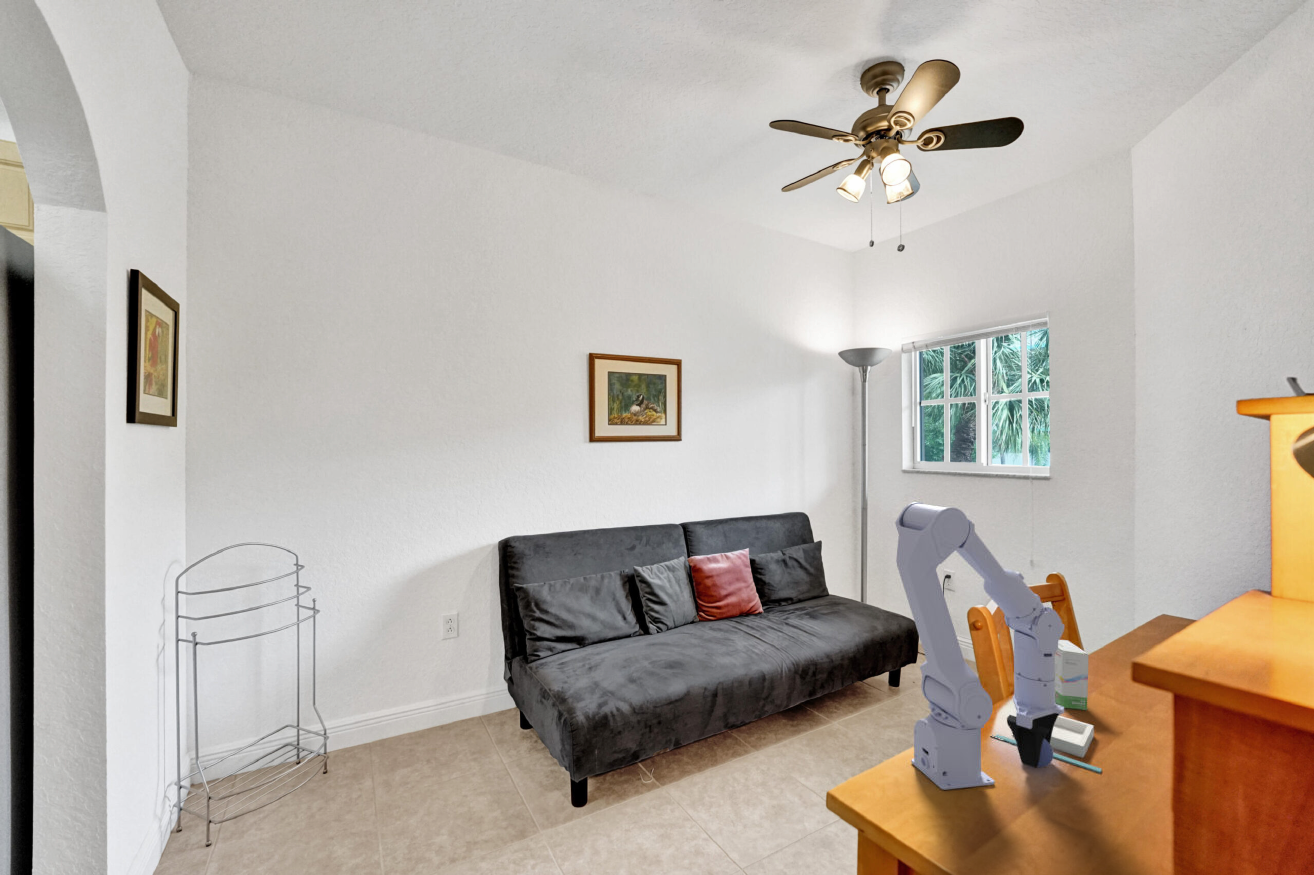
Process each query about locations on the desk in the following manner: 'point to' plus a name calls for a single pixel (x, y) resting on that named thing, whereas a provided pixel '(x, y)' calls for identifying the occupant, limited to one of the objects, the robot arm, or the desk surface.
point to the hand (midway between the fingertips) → (1035, 756)
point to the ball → (1045, 754)
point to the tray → (1071, 736)
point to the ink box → (1071, 676)
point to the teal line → (1059, 757)
